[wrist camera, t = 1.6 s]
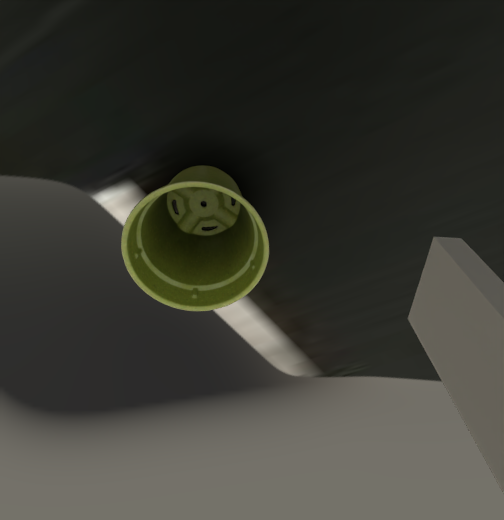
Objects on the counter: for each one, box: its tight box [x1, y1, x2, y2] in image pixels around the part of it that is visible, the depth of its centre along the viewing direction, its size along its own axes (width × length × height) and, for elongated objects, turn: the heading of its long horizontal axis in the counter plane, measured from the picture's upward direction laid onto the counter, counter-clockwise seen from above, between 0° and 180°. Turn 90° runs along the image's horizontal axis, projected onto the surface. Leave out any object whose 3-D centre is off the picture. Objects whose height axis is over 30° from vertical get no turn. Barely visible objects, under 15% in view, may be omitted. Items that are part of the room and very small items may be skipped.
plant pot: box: [121, 165, 269, 311], centre depth 33 cm, size 9×9×9 cm
